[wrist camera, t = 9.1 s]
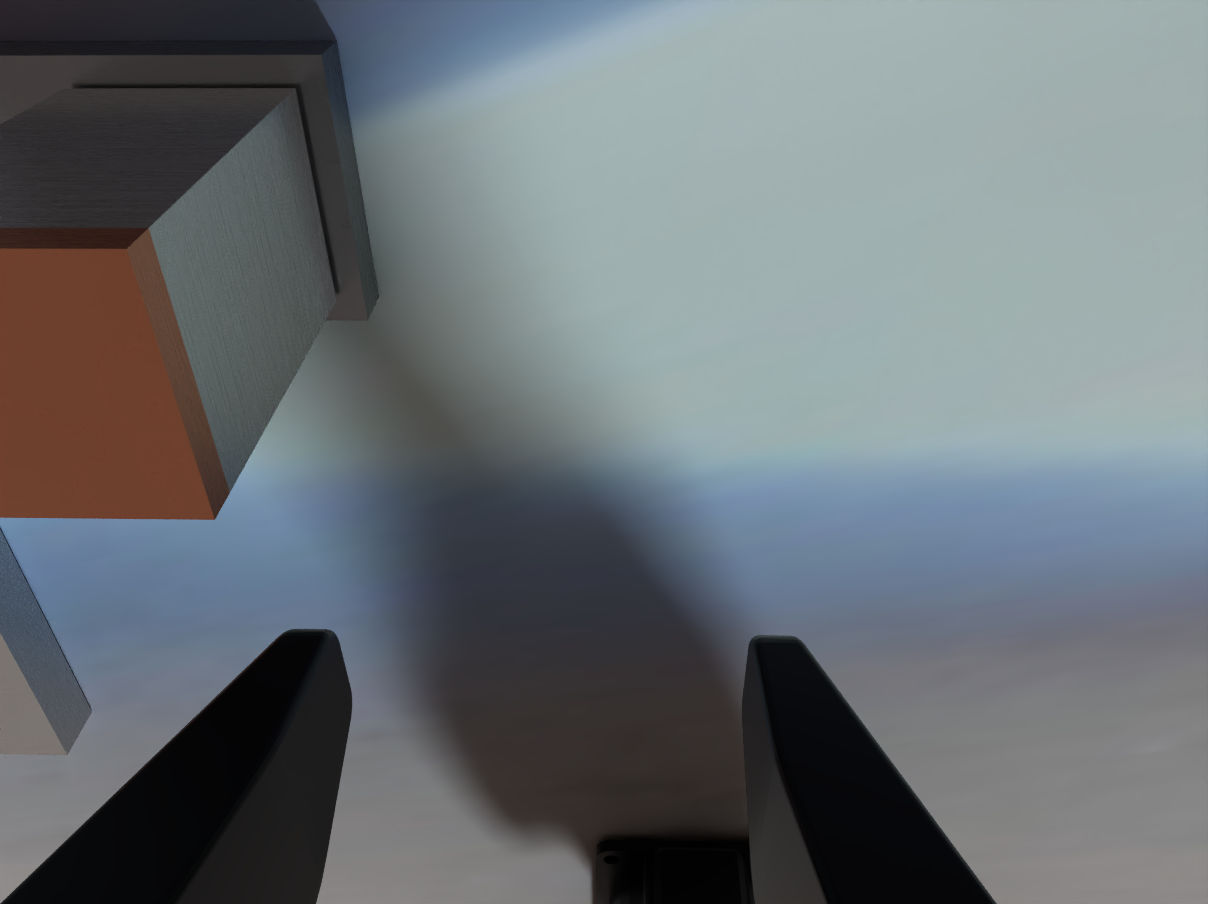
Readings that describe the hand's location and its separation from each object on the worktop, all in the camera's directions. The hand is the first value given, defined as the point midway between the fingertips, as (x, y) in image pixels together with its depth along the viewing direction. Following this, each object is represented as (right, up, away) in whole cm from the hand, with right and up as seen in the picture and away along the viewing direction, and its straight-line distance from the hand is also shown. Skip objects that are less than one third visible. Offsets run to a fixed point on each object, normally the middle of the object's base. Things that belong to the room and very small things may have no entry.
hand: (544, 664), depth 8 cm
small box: (-7, +6, +9) cm, 13 cm away
